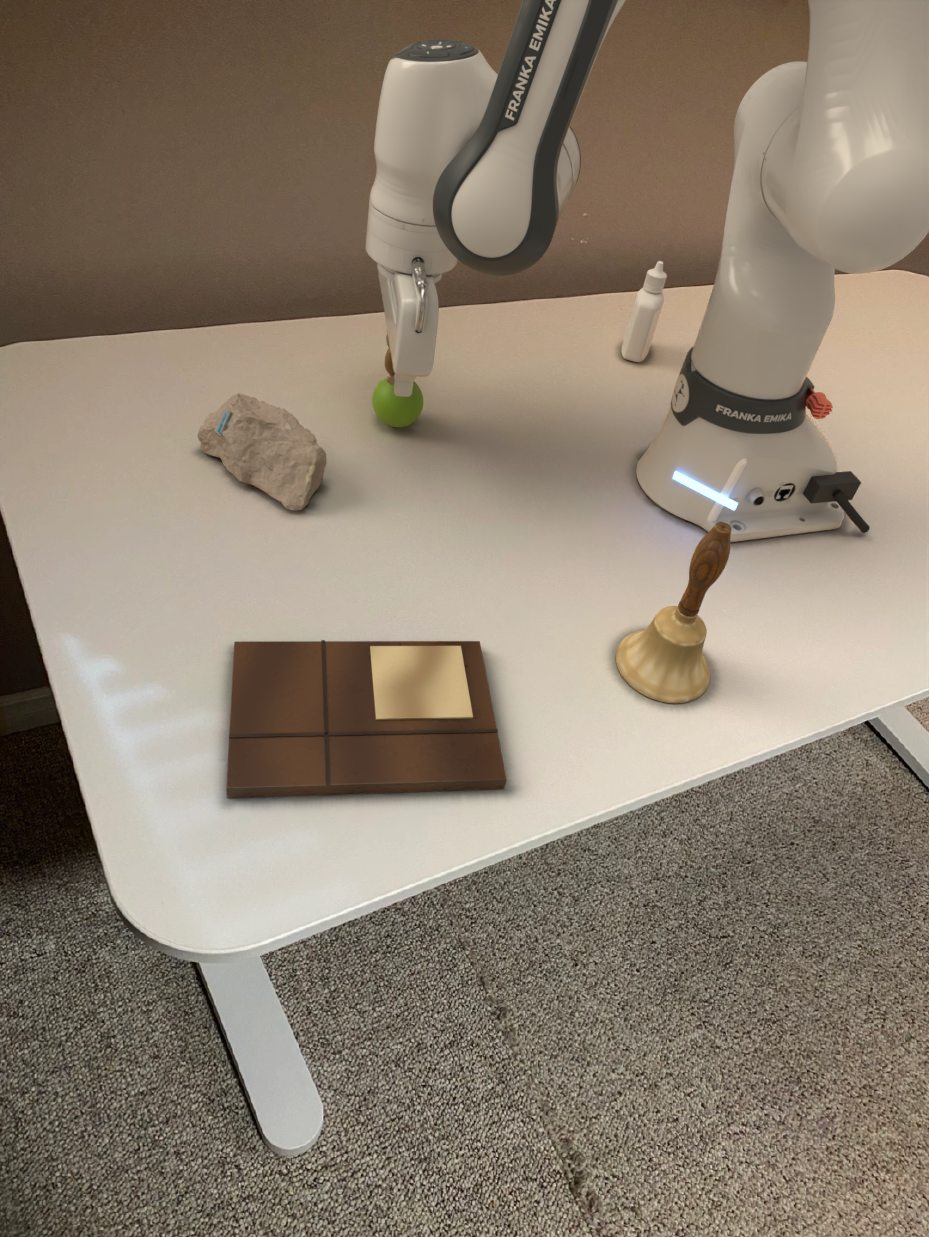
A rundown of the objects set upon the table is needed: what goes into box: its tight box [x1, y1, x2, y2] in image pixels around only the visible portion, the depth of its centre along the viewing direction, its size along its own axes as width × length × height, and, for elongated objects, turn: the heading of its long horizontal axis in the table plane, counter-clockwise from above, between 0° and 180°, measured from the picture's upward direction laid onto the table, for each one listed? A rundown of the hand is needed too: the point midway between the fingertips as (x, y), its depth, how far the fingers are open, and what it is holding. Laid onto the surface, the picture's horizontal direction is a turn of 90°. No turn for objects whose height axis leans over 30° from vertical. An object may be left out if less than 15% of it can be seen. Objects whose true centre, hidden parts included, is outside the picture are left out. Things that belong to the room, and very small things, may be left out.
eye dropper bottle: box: [620, 260, 668, 363], centre depth 116 cm, size 4×6×12 cm
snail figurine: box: [371, 346, 424, 428], centre depth 97 cm, size 5×6×12 cm
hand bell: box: [615, 522, 732, 705], centre depth 75 cm, size 8×8×16 cm
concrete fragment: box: [197, 392, 328, 512], centre depth 90 cm, size 7×14×6 cm, turn 48°
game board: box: [225, 639, 507, 799], centre depth 72 cm, size 20×14×1 cm
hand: (397, 368), depth 97 cm, fingers open, 8 cm apart
